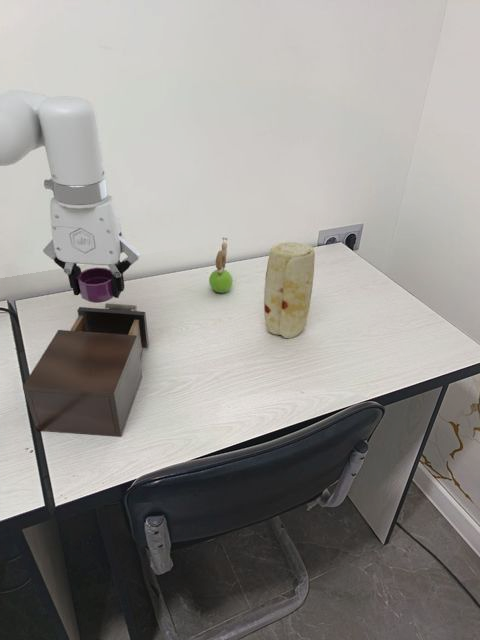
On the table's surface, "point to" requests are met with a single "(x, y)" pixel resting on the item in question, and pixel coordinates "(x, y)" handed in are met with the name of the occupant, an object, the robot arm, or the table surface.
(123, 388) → the dark wooden cabinet
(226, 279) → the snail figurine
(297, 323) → the food model
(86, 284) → the bowl
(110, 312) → the drawer
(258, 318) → the table surface
